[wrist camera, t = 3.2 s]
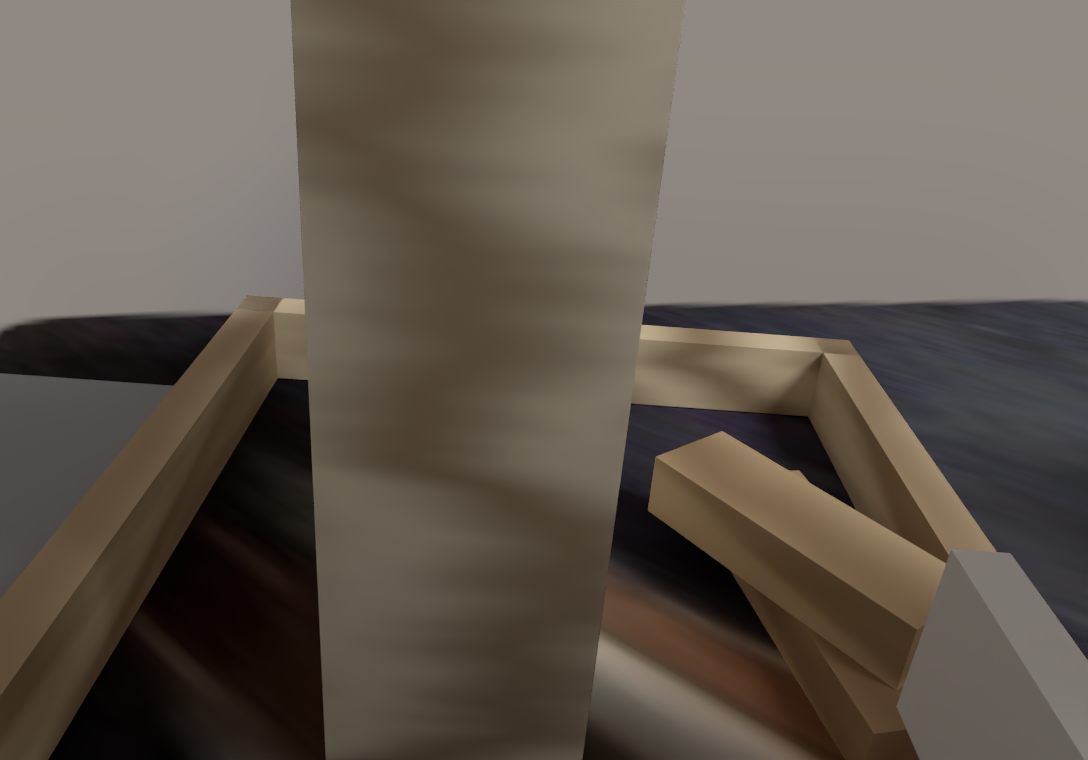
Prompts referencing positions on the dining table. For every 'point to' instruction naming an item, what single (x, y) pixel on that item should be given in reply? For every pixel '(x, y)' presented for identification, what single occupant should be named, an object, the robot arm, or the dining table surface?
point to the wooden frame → (281, 352)
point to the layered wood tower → (472, 353)
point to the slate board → (57, 453)
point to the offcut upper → (801, 550)
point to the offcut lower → (837, 686)
